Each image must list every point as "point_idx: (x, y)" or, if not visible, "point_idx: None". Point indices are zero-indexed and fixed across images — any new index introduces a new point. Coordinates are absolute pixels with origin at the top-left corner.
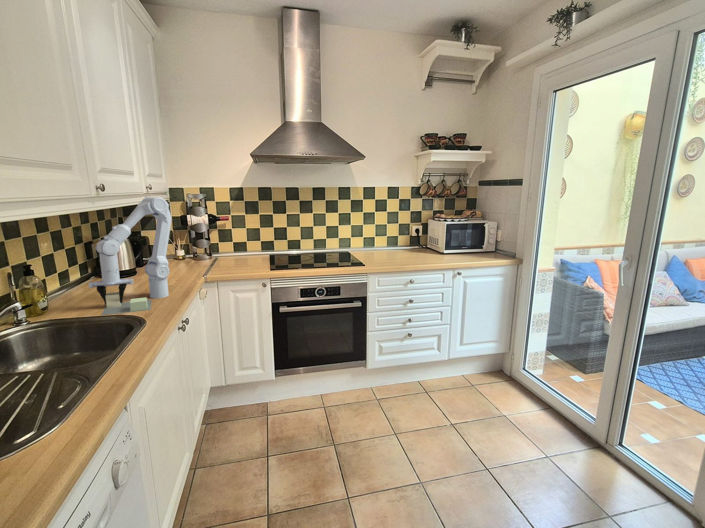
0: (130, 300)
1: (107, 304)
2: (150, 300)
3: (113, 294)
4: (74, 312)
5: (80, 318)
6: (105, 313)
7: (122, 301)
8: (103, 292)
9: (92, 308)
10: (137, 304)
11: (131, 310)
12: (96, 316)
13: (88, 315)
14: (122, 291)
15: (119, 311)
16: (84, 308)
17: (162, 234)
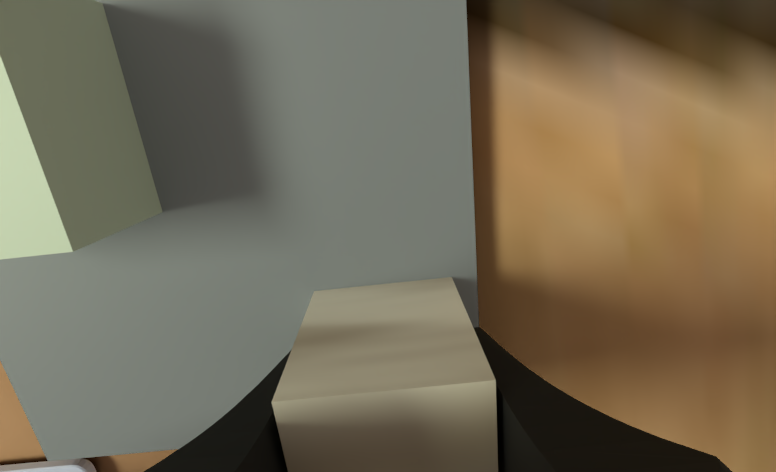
0: (31, 146)
1: (449, 297)
2: (44, 430)
3: (373, 435)
4: (755, 284)
5: (694, 5)
6: (422, 19)
7: None
8: (553, 436)
9: (599, 370)
10: None
11: (80, 1)
12: (523, 29)
13: (615, 112)
14: (180, 461)
15: (260, 59)
16: (670, 391)
17: None
